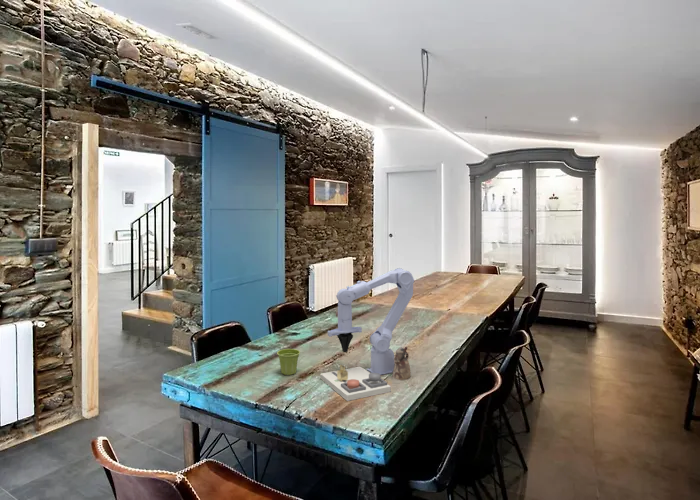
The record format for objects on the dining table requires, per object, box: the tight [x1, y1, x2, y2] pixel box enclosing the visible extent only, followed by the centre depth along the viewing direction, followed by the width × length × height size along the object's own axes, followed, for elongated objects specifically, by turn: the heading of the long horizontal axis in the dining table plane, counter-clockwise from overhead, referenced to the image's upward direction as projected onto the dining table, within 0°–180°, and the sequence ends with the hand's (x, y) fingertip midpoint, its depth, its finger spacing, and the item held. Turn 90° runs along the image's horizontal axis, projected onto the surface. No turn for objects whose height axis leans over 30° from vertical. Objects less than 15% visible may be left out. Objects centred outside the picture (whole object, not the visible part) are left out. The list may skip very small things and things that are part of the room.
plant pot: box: [276, 348, 301, 376], centre depth 179 cm, size 9×9×9 cm
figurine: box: [392, 346, 411, 381], centre depth 174 cm, size 7×7×12 cm
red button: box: [347, 379, 359, 389], centre depth 158 cm, size 4×4×2 cm
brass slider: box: [336, 364, 348, 381], centre depth 165 cm, size 3×3×5 cm
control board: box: [319, 366, 392, 402], centre depth 166 cm, size 18×24×3 cm
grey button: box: [369, 372, 382, 382], centre depth 162 cm, size 4×4×2 cm
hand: (344, 351), depth 177 cm, fingers closed
